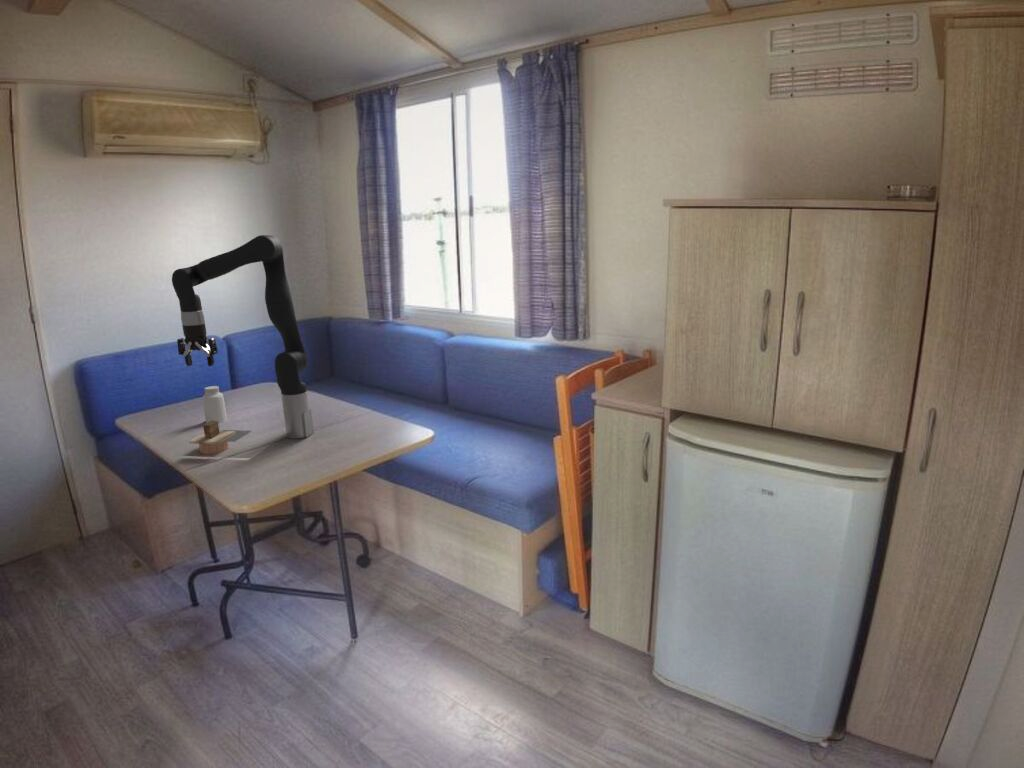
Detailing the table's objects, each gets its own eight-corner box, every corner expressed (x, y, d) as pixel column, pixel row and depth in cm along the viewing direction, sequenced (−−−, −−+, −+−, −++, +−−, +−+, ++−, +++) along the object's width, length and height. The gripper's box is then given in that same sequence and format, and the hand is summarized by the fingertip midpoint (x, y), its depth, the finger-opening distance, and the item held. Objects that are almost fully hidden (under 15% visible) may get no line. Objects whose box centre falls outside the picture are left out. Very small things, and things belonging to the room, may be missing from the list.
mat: (252, 432, 240) (252, 430, 240) (235, 443, 229) (234, 441, 229) (223, 431, 242) (223, 430, 242) (205, 442, 230) (205, 440, 230)
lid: (235, 433, 225) (233, 418, 223) (218, 444, 214) (215, 428, 213) (207, 432, 226) (205, 417, 225) (189, 443, 216) (186, 427, 214)
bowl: (233, 447, 225) (231, 434, 224) (219, 456, 217) (217, 443, 215) (210, 446, 227) (208, 433, 225) (195, 455, 218) (193, 442, 217)
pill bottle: (219, 418, 259) (214, 384, 255) (231, 421, 255) (226, 386, 251) (202, 423, 252) (196, 388, 249) (214, 426, 248) (208, 391, 245)
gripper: (217, 321, 228) (223, 363, 233) (182, 321, 230) (189, 363, 235) (205, 324, 221) (211, 368, 225) (169, 324, 223) (176, 367, 227)
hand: (200, 365), depth 230 cm, fingers open, 8 cm apart
